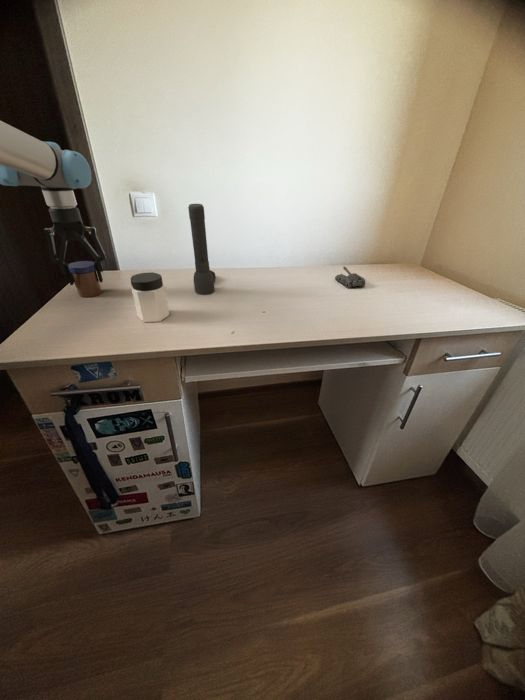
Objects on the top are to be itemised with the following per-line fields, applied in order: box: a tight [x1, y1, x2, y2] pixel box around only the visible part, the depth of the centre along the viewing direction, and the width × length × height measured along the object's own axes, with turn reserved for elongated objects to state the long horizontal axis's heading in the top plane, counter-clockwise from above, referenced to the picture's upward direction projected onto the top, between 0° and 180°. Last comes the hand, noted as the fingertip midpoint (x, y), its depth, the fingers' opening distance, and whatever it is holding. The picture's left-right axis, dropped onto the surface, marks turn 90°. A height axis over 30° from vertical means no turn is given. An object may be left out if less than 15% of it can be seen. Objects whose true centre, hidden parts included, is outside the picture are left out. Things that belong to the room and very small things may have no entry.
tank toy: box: [334, 266, 366, 289], centre depth 113 cm, size 12×10×5 cm
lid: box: [67, 260, 96, 273], centre depth 92 cm, size 8×8×2 cm
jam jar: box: [71, 270, 103, 298], centre depth 94 cm, size 7×7×9 cm
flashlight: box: [187, 203, 215, 296], centre depth 93 cm, size 7×28×7 cm
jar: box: [130, 272, 170, 323], centre depth 81 cm, size 9×8×12 cm
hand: (87, 282), depth 95 cm, fingers closed on lid, 8 cm apart
